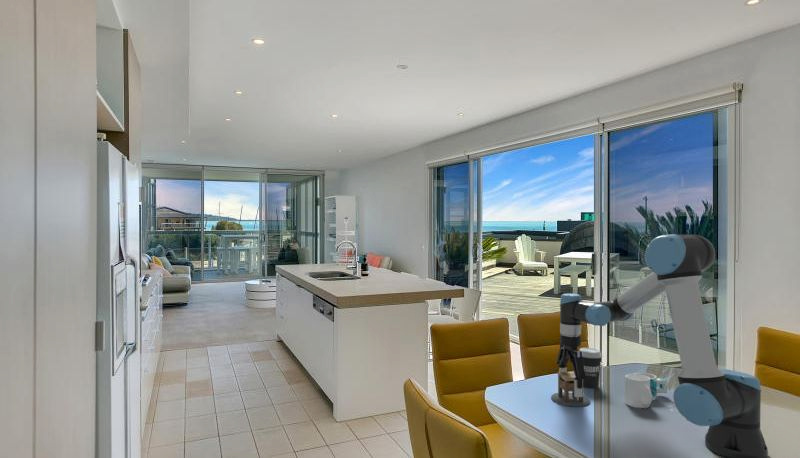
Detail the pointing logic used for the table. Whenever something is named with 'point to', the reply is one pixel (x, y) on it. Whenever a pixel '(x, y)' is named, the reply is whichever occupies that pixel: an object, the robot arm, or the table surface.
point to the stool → (566, 385)
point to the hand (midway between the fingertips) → (570, 390)
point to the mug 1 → (637, 391)
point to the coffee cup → (591, 367)
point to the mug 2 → (655, 384)
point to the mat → (570, 400)
